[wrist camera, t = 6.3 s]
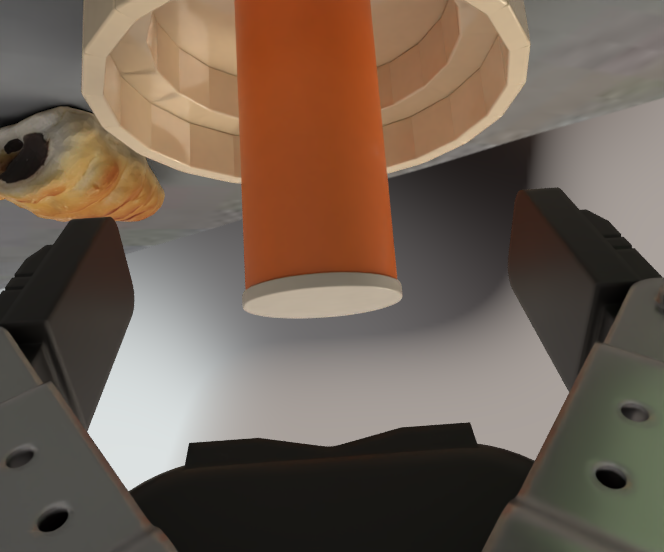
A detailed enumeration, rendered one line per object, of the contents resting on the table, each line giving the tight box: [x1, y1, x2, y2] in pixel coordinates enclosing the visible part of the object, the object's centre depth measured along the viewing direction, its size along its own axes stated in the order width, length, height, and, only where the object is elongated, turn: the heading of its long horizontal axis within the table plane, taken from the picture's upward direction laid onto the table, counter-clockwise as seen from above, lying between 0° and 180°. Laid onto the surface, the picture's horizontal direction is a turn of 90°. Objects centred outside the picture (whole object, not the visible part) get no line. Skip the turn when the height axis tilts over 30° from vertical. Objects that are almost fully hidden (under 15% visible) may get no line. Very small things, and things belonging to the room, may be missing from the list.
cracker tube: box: [234, 0, 402, 318], centre depth 19 cm, size 5×5×10 cm
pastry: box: [0, 106, 165, 222], centre depth 30 cm, size 9×7×4 cm
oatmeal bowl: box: [81, 0, 531, 183], centre depth 20 cm, size 13×13×4 cm
